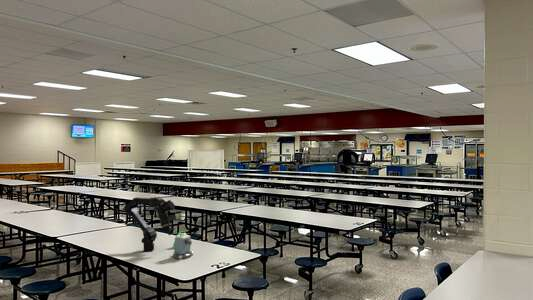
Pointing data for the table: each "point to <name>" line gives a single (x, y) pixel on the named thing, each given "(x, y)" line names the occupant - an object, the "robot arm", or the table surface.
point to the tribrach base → (183, 255)
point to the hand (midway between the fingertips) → (169, 235)
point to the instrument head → (182, 243)
